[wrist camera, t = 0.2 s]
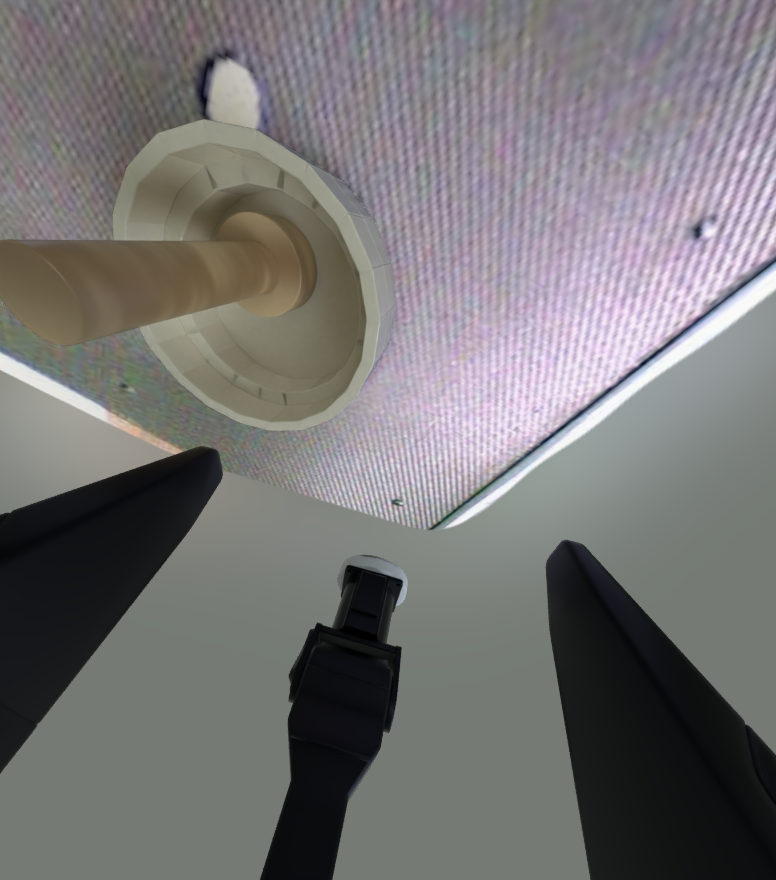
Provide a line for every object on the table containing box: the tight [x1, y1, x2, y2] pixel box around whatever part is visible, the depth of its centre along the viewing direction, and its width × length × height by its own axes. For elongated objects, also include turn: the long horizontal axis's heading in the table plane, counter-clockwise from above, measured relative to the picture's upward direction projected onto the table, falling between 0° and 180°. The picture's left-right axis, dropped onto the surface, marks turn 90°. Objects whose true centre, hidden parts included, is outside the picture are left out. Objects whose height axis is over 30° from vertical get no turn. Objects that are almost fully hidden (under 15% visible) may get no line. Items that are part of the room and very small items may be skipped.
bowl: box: [112, 119, 396, 431], centre depth 19 cm, size 14×14×6 cm
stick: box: [0, 211, 317, 346], centre depth 14 cm, size 5×5×13 cm
